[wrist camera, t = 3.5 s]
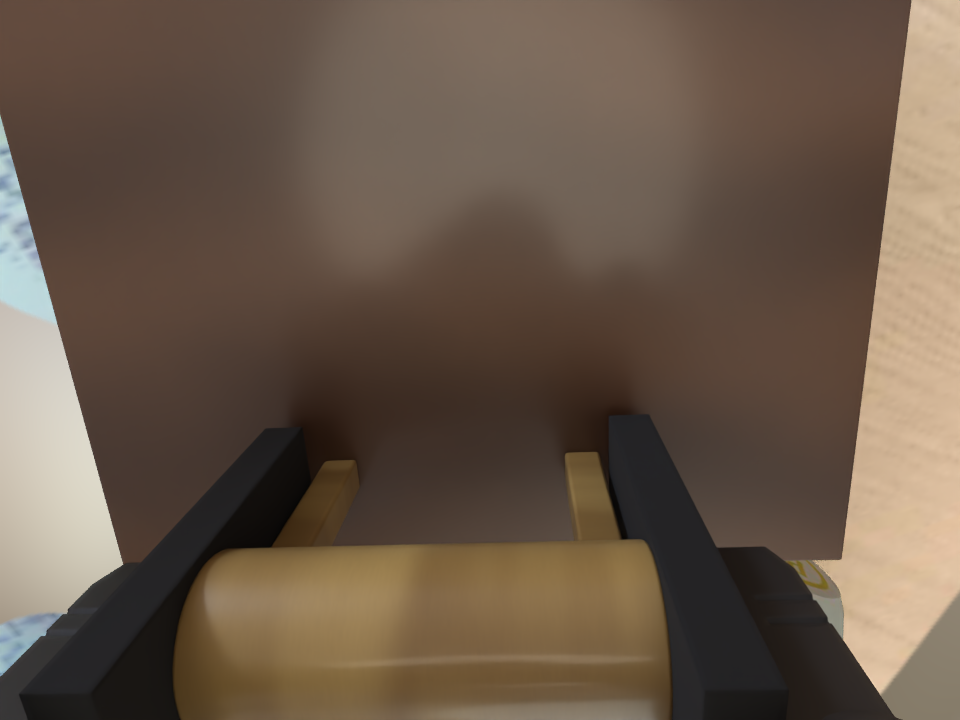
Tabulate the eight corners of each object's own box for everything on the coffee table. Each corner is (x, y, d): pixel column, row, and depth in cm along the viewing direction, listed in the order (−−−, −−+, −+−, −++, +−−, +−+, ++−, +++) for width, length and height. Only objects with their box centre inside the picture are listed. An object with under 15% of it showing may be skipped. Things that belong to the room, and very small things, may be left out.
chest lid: (824, 539, 14) (1085, 863, 8) (144, 554, 15) (-130, 846, 9) (941, -473, 9) (1999, -2048, 3) (-87, -336, 10) (-1123, -1177, 4)
